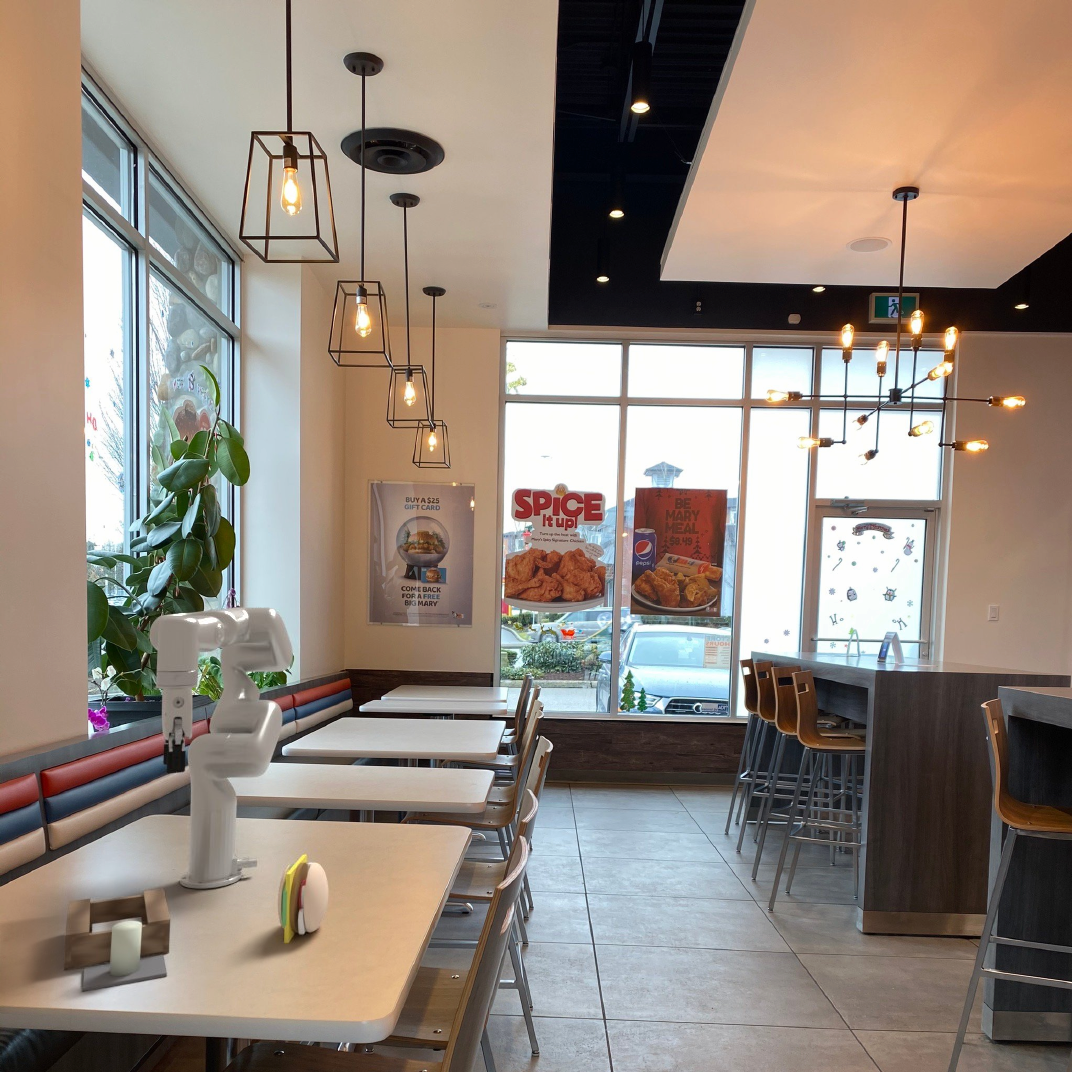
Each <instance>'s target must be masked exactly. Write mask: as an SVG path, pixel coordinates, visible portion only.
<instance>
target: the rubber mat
mask: <svg viewBox="0 0 1072 1072" xmlns="http://www.w3.org/2000/svg"><path fill="white" fill-rule="evenodd" d="M166 966H167V965H166V960H165V955H164V954H159V955H154V956H148V957H142V958H140V967H139V970H138V971H137V972H135V973H133V974H130V975H125V976H114V975H111V974H110V963H106V964H100V965H94V966H89V967H83V968H84V969H83V982H82V984H83V985H82V986H83V987H82V991H83V992H87V991H91V990H97V989H103V988H110V987H115V986H120V985H125V984H131V983H137V982H142V981H148V980H149V981H150V980H154V979H159V978H163V977H167V976H168V972H167V967H166Z"/></svg>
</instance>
